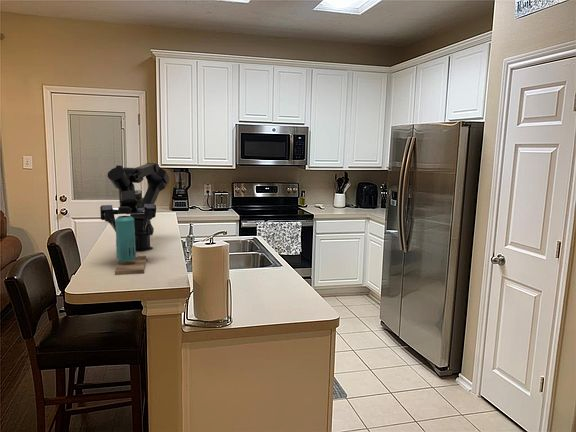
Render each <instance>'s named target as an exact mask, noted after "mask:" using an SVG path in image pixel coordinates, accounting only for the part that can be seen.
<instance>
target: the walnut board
mask: <svg viewBox="0 0 576 432" xmlns="http://www.w3.org/2000/svg"><path fill="white" fill-rule="evenodd" d="M146 262H147V255H136V258H135V259H134V260H131V261H119V260H118V261H117V265H116V267H115V270H114V275H116V276H117V275H133V274H134V275H135V274H136V275H137V274H139V275H140V274H144V273H145V267H146Z"/></svg>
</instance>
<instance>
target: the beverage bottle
mask: <svg viewBox="0 0 576 432" xmlns="http://www.w3.org/2000/svg"><path fill="white" fill-rule="evenodd" d="M118 213H121V214H120V215H118V217H115V223H116V232H115V248H116V255H115V256H116V259H117V260H118V262H119V261H131V260H134V259H135V258H136V256H137V251H136V246H135V226H134V218H133V217H131V216H130V215H127V214H126V213H131V210H130V207H128V206H122V207H120V206H118Z"/></svg>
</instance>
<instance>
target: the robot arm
mask: <svg viewBox="0 0 576 432" xmlns="http://www.w3.org/2000/svg"><path fill="white" fill-rule="evenodd" d="M107 178H108V180H110V182H111V184H112V185H113V187H114V188H115V189H118V200H119V201H118V203H119V207H122V206H128V207H130V210H131V213H126V214H125V215H129V216H131V217H133V218H134V226H135V246H136V252H142V251H149V250H152V249H153V247H152V246H151V236H153V234H154V230H155V229H154V226H153V225H152V221H151V220H153V219H154V218H156V214H157V205H156V204H155V203H156V201H157V199H158V196H159V194H160V193H161V192H162V191H163V190H165V189H166V187H167V186H168V184H169V181H170V177H169V175H168V173H167V171H166V170H164V168H162V167H161V166H160V165H159V164H158V163H156V162H155V163H154V162H147V163H145V164H142V165H139V166H137V167H123V165H115V167H113V168H111V169H110V170H109V171H108V172H107ZM144 178H146V180H147V184H148V188H147V189H146V192H145V194H144V196H142V193H143V192H142V189H135V184H140V183H142V182H143V181H144ZM142 197H143V200H142V202H141V205H140V207H139V208H137V200H140V199H141V198H142ZM99 208H100V209H99V211H100V212H99V213H100V220H101V221H104V222H106V223H107V222H108V224H109V225H110V226H111V227H112V229H113V230H114V232H115V233H116V223H115V220H116V217H115V215H122V214H121V213H118V208H114V207H113V205H112V204H103V205H101V206H100V207H99Z"/></svg>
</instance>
